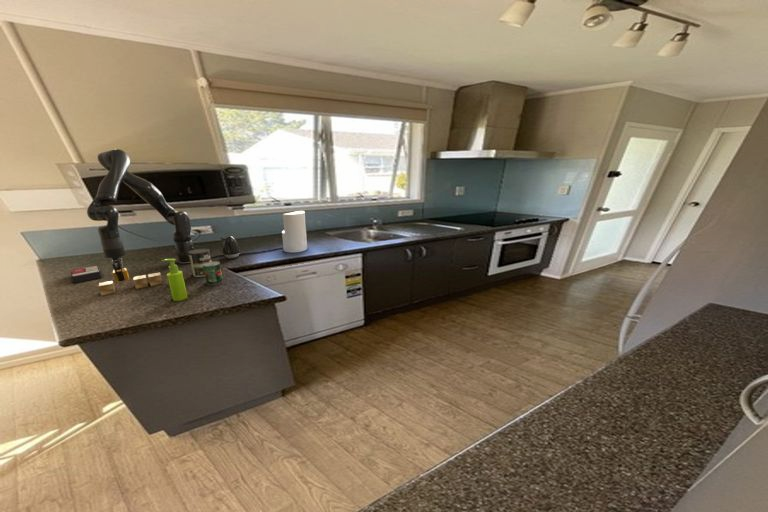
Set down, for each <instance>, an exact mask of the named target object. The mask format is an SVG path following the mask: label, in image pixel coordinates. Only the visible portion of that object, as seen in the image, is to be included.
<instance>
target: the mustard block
mask: <svg viewBox="0 0 768 512" xmlns="http://www.w3.org/2000/svg"><path fill="white" fill-rule="evenodd" d="M122 270H123V275H124V278H125V280H124V281H123V282H125V281H129V280H130V275H129V271H128V268H127V267H123V269H122ZM118 271H120V270H117V272H118ZM112 276H113V279H114V282H115V283H120V282H121V281H119V280H118V276H117V274H115V271H114V269H113V270H112Z"/></svg>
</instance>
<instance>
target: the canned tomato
mask: <svg viewBox="0 0 768 512" xmlns="http://www.w3.org/2000/svg"><path fill="white" fill-rule="evenodd" d="M203 267H204V273H205V276H204V277H205V283H206V285H207V286H217V285H220V284H222V283H223V282H224V279H223V273H222V272H223V271H222V267H221V262H220V261H217V260H211V262H207V263H204V264H203Z"/></svg>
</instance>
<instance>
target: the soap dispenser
mask: <svg viewBox="0 0 768 512" xmlns="http://www.w3.org/2000/svg"><path fill="white" fill-rule="evenodd" d="M175 261H177V259H176V258H164V259H162V260H161V262H169V266H168V271H169V272H167V273H166V277H167V282H168V285H169V289H170V294H171V298H172V301H174V302H181V301H184V300H186V299H188V298H189V297H188V292H187V288H186V282H185V278H184V273H183V271H182V270H179V266H178V264H175Z"/></svg>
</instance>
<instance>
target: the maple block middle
mask: <svg viewBox="0 0 768 512" xmlns="http://www.w3.org/2000/svg"><path fill="white" fill-rule="evenodd" d="M132 281H133V283H134V287H135V289H137V290H138V289H143V288H147V287H149V280H148V276H147V275H146V274H143V275H136V276H133V279H132Z"/></svg>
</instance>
